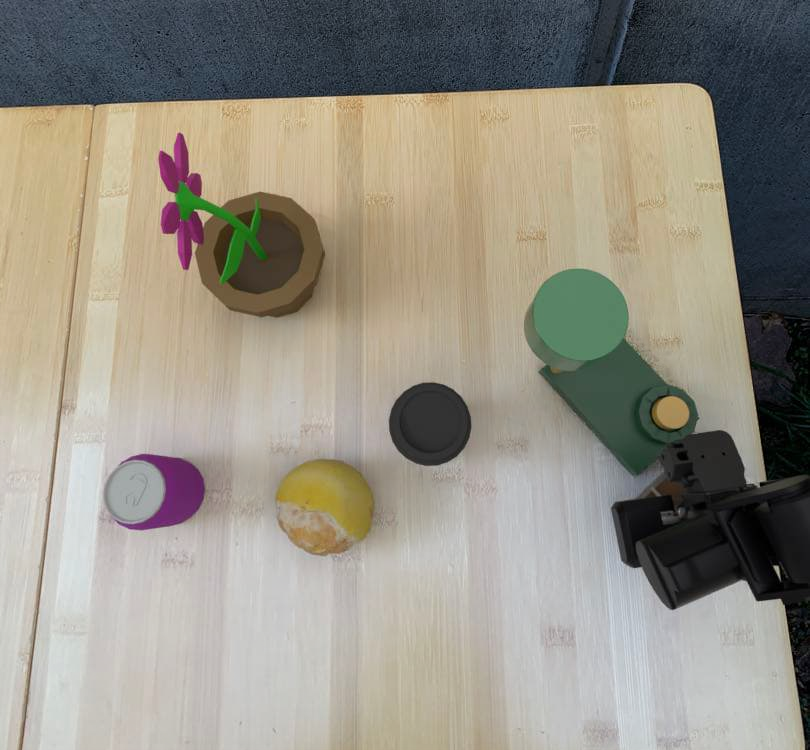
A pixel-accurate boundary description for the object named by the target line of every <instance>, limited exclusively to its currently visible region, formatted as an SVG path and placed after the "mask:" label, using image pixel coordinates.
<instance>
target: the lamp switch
mask: <svg viewBox="0 0 810 750" xmlns="http://www.w3.org/2000/svg"><path fill="white" fill-rule="evenodd" d="M652 418H653V420H654V422H655V423H656V424H657V425H658V426H659V427H660V428H662V429H665V430H673V429H677V428H680V427H682V426H684V425H685V424H686V423H687V421H688V419H689V409H688V407H687V405H686V403H685V402H684V401H683V400H681V399H680V398H678V397H674V396H668V397H665V398H662V399H660V400H658V401H657V402H656V403H655V404H654V405H653V408H652Z"/></svg>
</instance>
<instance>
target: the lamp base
mask: <svg viewBox="0 0 810 750" xmlns="http://www.w3.org/2000/svg"><path fill="white" fill-rule="evenodd" d="M631 345H632V344H630V343H629V342H628V341H627V340H626V339H625V337H624V338H623V340H622V342H621V343H620V344H619V346H618V347H617V348H616V349H615V350H613V351H612V352H611V353H610V354H608V355H607V356H605V357H604V358H602V359H601V360H600V361H598V362H597V363H595V364H594V365H592V366H590V367H588V368H586V369H582V370H578V371H563V372H561V373H560V374H554V373H553V372H552V371H551V370H550V366H549V365H547V364H545V365H544V366H543V367H542V368H541V369H540V370H539V371H538V373H539V375H540V376H541V377H542V378H543V379H544V380H545V381H546V382H547V383H548V384H549V386H551V388H553V389H554V391H555V392H556V393H557V395H559V396H560V397H561V399H562V400H563V401H564V402H565V403H566V404H567V405H568V407H569V408H570V409H571V410H572V411H573V412H574V413H575V414H576V416H577V417H579V419H580V420H581V421H582V422H583V423H584V424H585V425H586V426H587V428H588V429H589V430H590V431H591V432H592V434H594V436H595V437H597V439H598V440H599V441H600V442H601V443H602V444H603V445H604V446H605V447H606V449H607V450H608V451H609V452H610V453H611V454H612V455H613V457H615V459H616V460H617V461H618V462H619V463H620V464H621V465H622V466H623V467H624V469H625V470H626V471H628V474H630V475H631V476H632V477H634V476H635V477H637V476H639V475H641V473H643V472H644V471H645V470H646V469H647V468H648V467H649V466H650V465H651V464H652V463H653V462H655V461H656V460H657V459H658V458H660V454H661V453H662V451H663V450H664V449H667V443H668V442H674V440H680V439H683V438H684V437H685V436H686V435H689V434H694V433H695V431H696V427H697V424H698V421H699V420H700V417H699V414H698V410H697V406H696V403H695V400H694V399H693V398H692V397H691V396H690V395H689V394H688V392H687V391H685V390H684V389H683V388H681V387H677V386H674V385H672V384H669V383H667V382H666V380H664V379H663V378H662V377H661V376H660V375H659V374H658V372H656V371H655V370H654V369H653V368H652V366H651V365H650V364H649V363H648V362H647V361H646V360H645V359H644V358H643V357H642V356H641V355H640V354H639V353H638V351H636V349H635V348H634V347H633V346H631ZM668 396H674V397H678V398H680V399H681V400H683V401H684V402H685V403H686V405H687V407H688V409H689V419H688V421H687V423H686V424H685V425H684V426H682V427H680V428H677V429H673V430H665V429H662V428H660V427H659V426H658V425H657V424H656V423H655V422H654V420H653V418H652V408H653V405H654V404H655V403H656V402H657V401H658V400H660V399H662V398H665V397H668Z"/></svg>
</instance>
